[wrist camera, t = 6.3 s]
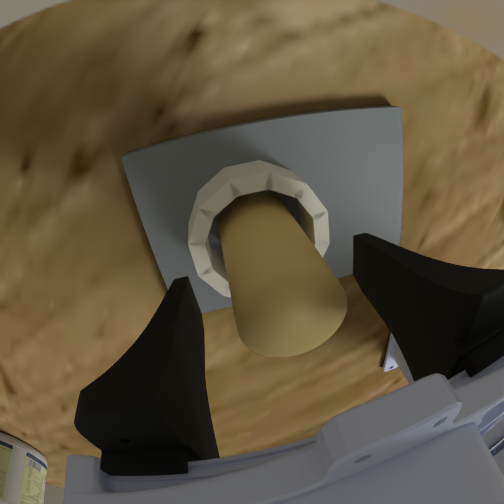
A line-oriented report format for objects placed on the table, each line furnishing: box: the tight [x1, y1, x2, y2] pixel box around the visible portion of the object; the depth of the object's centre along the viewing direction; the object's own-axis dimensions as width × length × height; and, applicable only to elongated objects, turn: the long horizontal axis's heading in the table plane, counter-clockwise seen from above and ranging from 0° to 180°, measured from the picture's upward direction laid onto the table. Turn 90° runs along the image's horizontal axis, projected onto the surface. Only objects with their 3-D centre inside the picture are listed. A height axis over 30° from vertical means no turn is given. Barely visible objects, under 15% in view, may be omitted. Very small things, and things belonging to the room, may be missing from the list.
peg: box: [218, 191, 348, 358], centre depth 14 cm, size 4×4×8 cm
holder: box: [121, 105, 403, 313], centre depth 17 cm, size 16×11×4 cm
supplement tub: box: [0, 432, 47, 504], centre depth 23 cm, size 12×12×17 cm
